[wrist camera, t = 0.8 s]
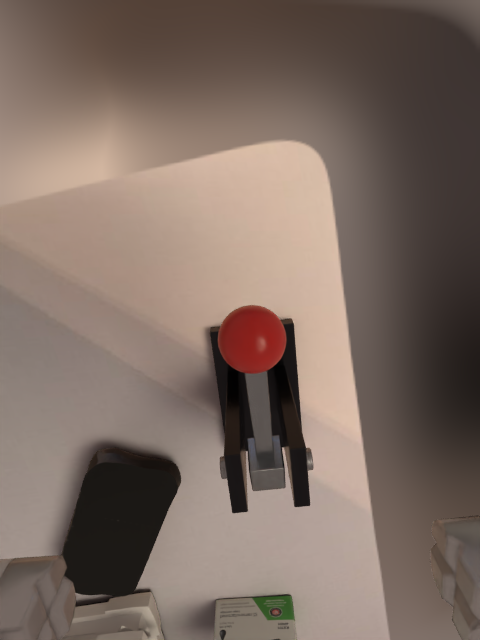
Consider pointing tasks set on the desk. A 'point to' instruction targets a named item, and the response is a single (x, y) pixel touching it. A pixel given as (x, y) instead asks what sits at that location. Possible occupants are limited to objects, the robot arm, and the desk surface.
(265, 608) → the ink box
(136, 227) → the desk surface
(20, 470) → the desk surface
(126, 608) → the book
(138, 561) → the black sponge
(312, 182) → the desk surface
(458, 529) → the robot arm
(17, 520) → the desk surface
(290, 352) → the bracket
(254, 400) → the lever
